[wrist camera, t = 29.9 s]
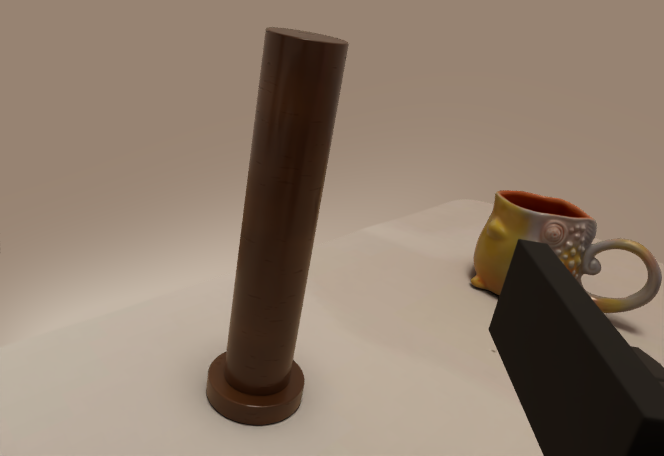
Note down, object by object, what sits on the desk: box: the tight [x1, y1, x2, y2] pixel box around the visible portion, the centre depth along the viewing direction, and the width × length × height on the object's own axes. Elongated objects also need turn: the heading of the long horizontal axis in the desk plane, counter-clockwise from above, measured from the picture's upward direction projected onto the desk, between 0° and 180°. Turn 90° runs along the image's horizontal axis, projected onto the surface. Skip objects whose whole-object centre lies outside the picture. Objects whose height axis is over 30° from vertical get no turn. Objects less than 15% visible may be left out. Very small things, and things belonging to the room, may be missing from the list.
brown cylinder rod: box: [206, 27, 348, 425], centre depth 24 cm, size 4×4×16 cm
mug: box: [471, 190, 662, 313], centre depth 40 cm, size 12×7×7 cm, turn 56°
